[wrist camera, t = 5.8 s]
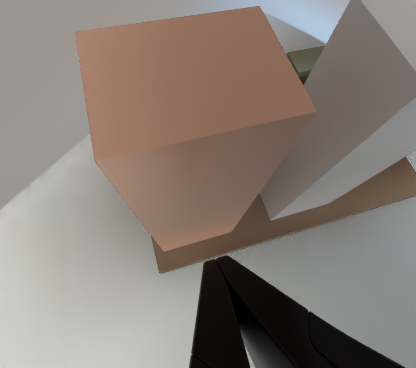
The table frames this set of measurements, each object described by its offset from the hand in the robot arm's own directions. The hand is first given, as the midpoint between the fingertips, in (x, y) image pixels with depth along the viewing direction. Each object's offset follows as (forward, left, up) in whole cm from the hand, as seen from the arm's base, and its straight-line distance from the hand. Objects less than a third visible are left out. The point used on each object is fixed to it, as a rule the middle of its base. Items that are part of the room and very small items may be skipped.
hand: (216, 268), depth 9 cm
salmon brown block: (+3, 0, -6) cm, 7 cm away
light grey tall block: (+3, -7, -6) cm, 9 cm away
